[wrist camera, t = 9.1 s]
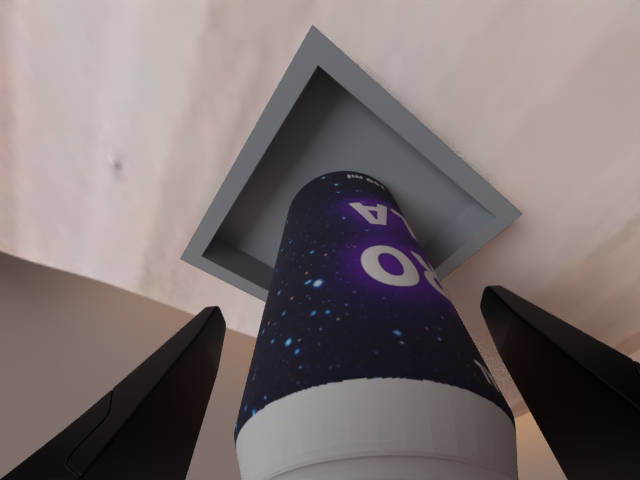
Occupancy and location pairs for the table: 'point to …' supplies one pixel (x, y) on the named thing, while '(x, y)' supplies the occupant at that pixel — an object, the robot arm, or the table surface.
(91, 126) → the table surface
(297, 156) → the tray
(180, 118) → the table surface
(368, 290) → the beverage can
